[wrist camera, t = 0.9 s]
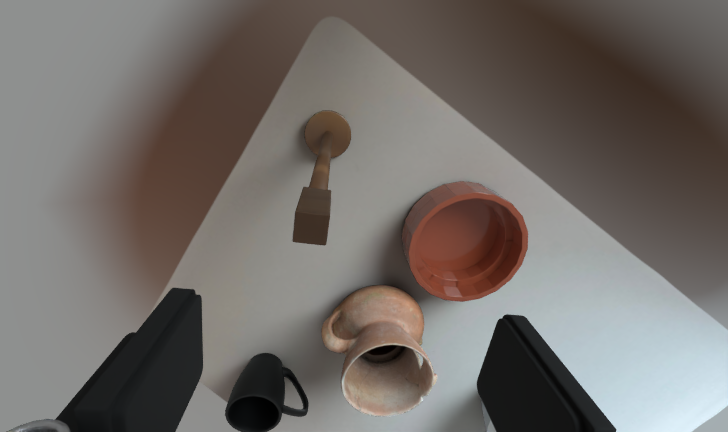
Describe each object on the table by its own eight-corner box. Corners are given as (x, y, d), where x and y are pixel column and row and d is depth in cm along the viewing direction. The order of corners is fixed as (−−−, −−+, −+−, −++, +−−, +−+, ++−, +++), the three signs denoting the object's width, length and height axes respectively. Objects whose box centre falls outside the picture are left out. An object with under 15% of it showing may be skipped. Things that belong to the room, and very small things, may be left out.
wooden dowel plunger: (308, 106, 44) (248, 157, 15) (353, 114, 45) (384, 176, 15) (303, 152, 46) (243, 277, 17) (347, 158, 47) (363, 289, 17)
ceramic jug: (441, 301, 57) (473, 367, 44) (396, 361, 61) (412, 438, 48) (347, 256, 53) (351, 314, 40) (305, 324, 57) (295, 397, 44)
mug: (306, 388, 62) (301, 439, 53) (239, 380, 60) (222, 431, 51) (315, 353, 59) (311, 400, 50) (244, 343, 57) (227, 391, 48)
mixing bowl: (414, 173, 49) (423, 185, 43) (522, 188, 51) (544, 201, 45) (392, 273, 54) (398, 295, 49) (490, 284, 57) (506, 306, 51)
